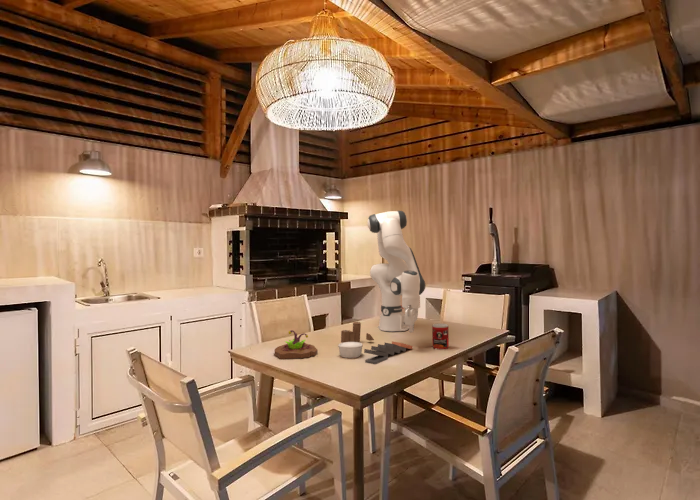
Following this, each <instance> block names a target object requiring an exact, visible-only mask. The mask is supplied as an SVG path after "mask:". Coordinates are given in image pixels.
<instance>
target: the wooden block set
mask: <svg viewBox="0 0 700 500" xmlns="http://www.w3.org/2000/svg"><path fill="white" fill-rule="evenodd" d="M361 325H362V323H361V322H360V321H353V322H352V330H350V329H349V330H347V329H343V330H341V331H340V333H341V334H340V335H341V336H340V343H344V342H359V343H361V327H362V326H361ZM365 337H366V338H365V340H367V341H375V339H374V337H373V336H372V334H371V333H369V332H366V335H365Z"/></svg>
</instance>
